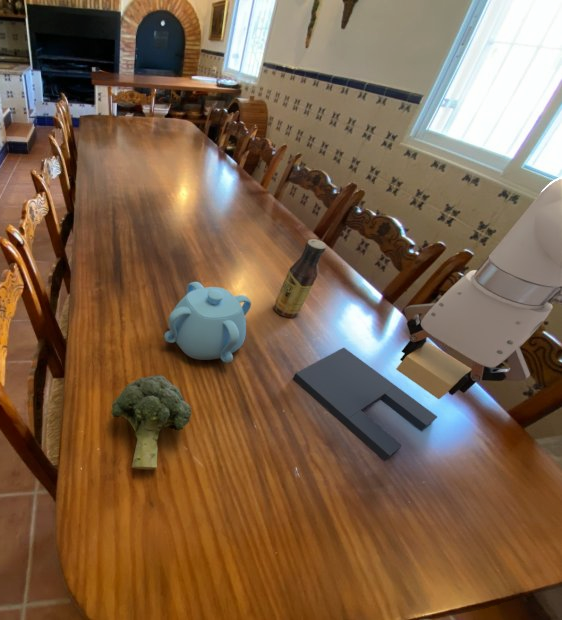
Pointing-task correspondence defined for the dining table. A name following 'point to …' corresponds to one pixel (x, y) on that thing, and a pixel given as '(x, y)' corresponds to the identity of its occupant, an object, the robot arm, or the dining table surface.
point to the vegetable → (151, 414)
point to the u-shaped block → (360, 398)
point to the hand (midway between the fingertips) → (429, 373)
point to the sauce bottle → (299, 280)
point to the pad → (433, 369)
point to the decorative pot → (209, 323)
